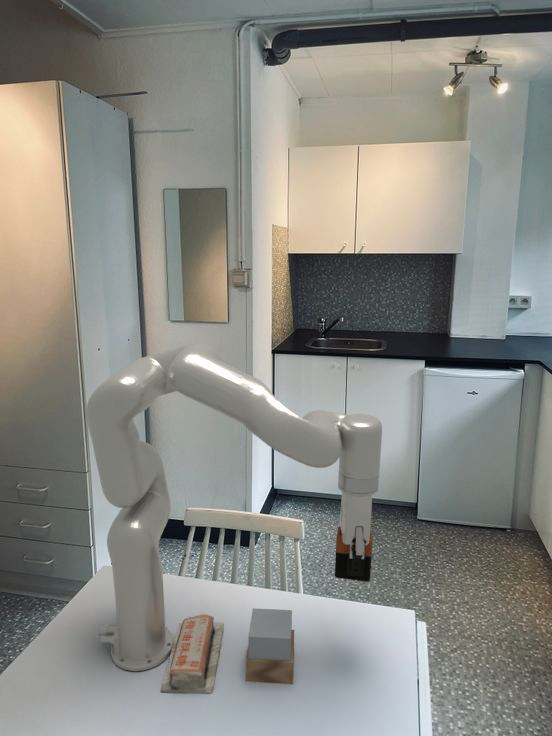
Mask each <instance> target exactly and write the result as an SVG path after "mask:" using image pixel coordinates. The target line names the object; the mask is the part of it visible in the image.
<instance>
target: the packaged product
mask: <svg viewBox="0 0 552 736" xmlns="http://www.w3.org/2000/svg"><path fill="white" fill-rule="evenodd" d="M214 619H215V618H214V616H213V615H209V614H204V613H202V614H200V615H195V616H189V617H186V618H184V619H183V620H182V623H180V622H179V624H178V628H177V630H176V634H175V638H174V640H173V641H174V644H173V648H172V651H171V653H170V655H169V660H168V663H167V667H166V670H165V673H164V676H163V680H162V683H161V687H160V692H161V693H173V694H175V693H176V694H213V691H214V686H215V679H216V675H217V670H218V665H219V660H220V656H221V655H220V654H221V649H222V643H223V636H224V627H225V625H224V624H225V622H215V621H214Z"/></svg>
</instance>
